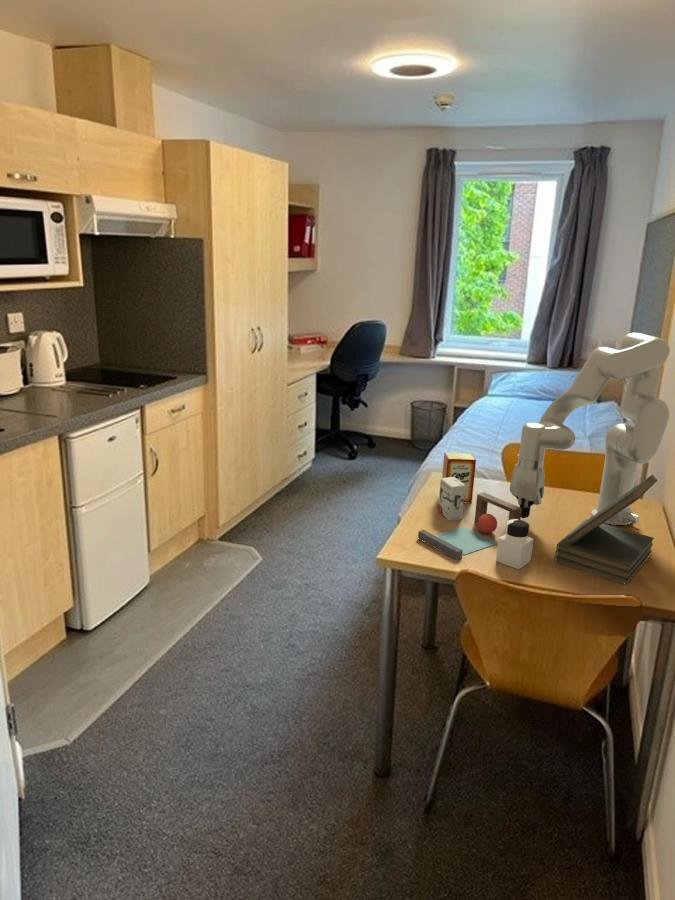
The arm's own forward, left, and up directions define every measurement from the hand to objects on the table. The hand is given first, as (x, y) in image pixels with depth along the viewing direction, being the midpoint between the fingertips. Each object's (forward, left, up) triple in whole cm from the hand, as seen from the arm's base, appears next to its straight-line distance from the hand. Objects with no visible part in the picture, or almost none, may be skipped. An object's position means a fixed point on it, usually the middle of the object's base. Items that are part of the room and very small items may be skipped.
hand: (523, 516), depth 207 cm
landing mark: (0, +27, -2) cm, 27 cm away
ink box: (+16, +17, -2) cm, 23 cm away
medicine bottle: (-17, +25, -2) cm, 30 cm away
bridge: (0, +13, -2) cm, 13 cm away
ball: (0, +17, +2) cm, 17 cm away
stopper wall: (0, +37, -2) cm, 37 cm away
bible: (-30, +2, -2) cm, 30 cm away
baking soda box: (+25, +5, -2) cm, 26 cm away
